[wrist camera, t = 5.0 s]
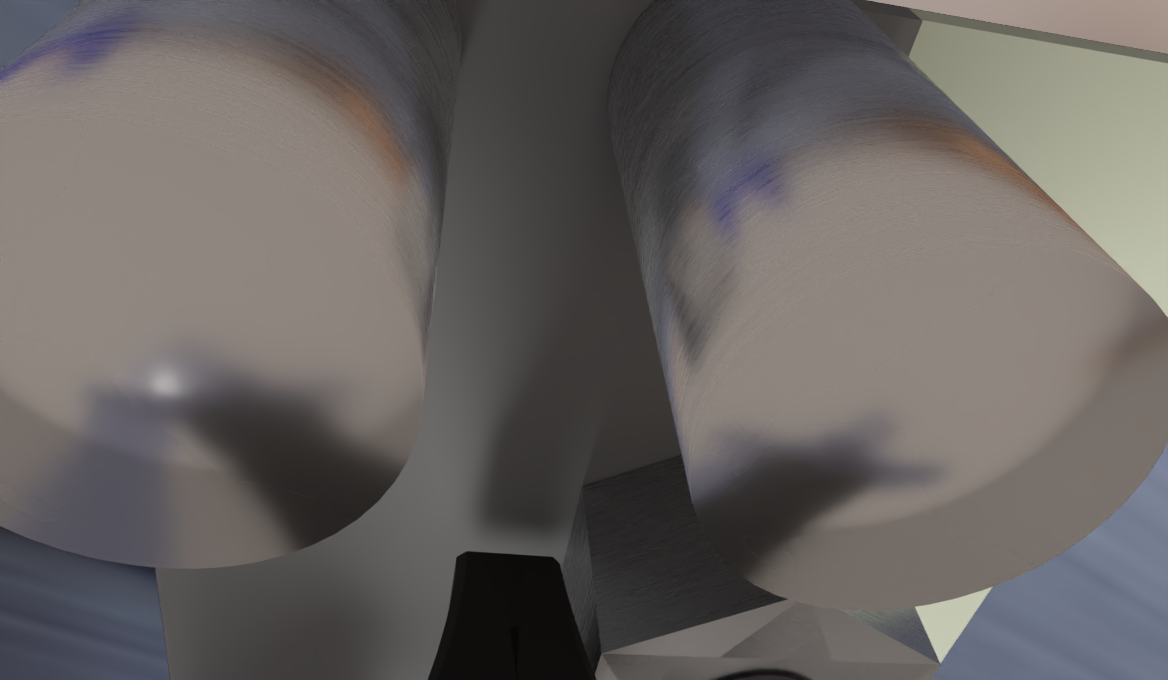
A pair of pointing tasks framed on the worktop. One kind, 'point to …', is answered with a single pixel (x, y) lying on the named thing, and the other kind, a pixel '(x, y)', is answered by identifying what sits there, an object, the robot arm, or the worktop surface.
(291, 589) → the mat
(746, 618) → the nut
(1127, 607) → the worktop surface
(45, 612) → the worktop surface
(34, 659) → the worktop surface
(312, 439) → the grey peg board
